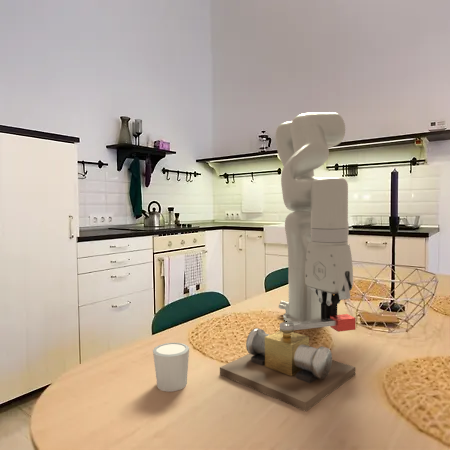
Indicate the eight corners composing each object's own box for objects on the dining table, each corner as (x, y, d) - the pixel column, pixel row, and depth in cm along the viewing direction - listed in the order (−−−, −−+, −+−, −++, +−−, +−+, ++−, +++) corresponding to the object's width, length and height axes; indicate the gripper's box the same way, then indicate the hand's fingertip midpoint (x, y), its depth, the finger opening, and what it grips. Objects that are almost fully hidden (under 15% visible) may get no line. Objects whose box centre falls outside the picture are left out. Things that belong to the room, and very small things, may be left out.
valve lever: (277, 333, 77) (277, 321, 77) (347, 325, 81) (347, 313, 81) (283, 338, 74) (283, 326, 74) (355, 329, 78) (355, 318, 78)
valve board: (219, 374, 77) (219, 366, 77) (274, 348, 90) (273, 341, 90) (305, 411, 63) (305, 401, 63) (355, 374, 76) (355, 366, 76)
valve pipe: (245, 360, 80) (245, 325, 80) (263, 351, 84) (263, 318, 84) (315, 386, 69) (315, 345, 68) (332, 374, 73) (332, 336, 72)
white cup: (195, 378, 76) (194, 344, 75) (180, 395, 69) (179, 357, 69) (164, 374, 78) (163, 340, 77) (147, 390, 71) (145, 353, 71)
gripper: (292, 235, 86) (292, 315, 87) (343, 240, 73) (342, 335, 74) (317, 233, 89) (317, 310, 91) (370, 238, 76) (369, 328, 78)
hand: (329, 321), depth 82 cm, fingers closed
